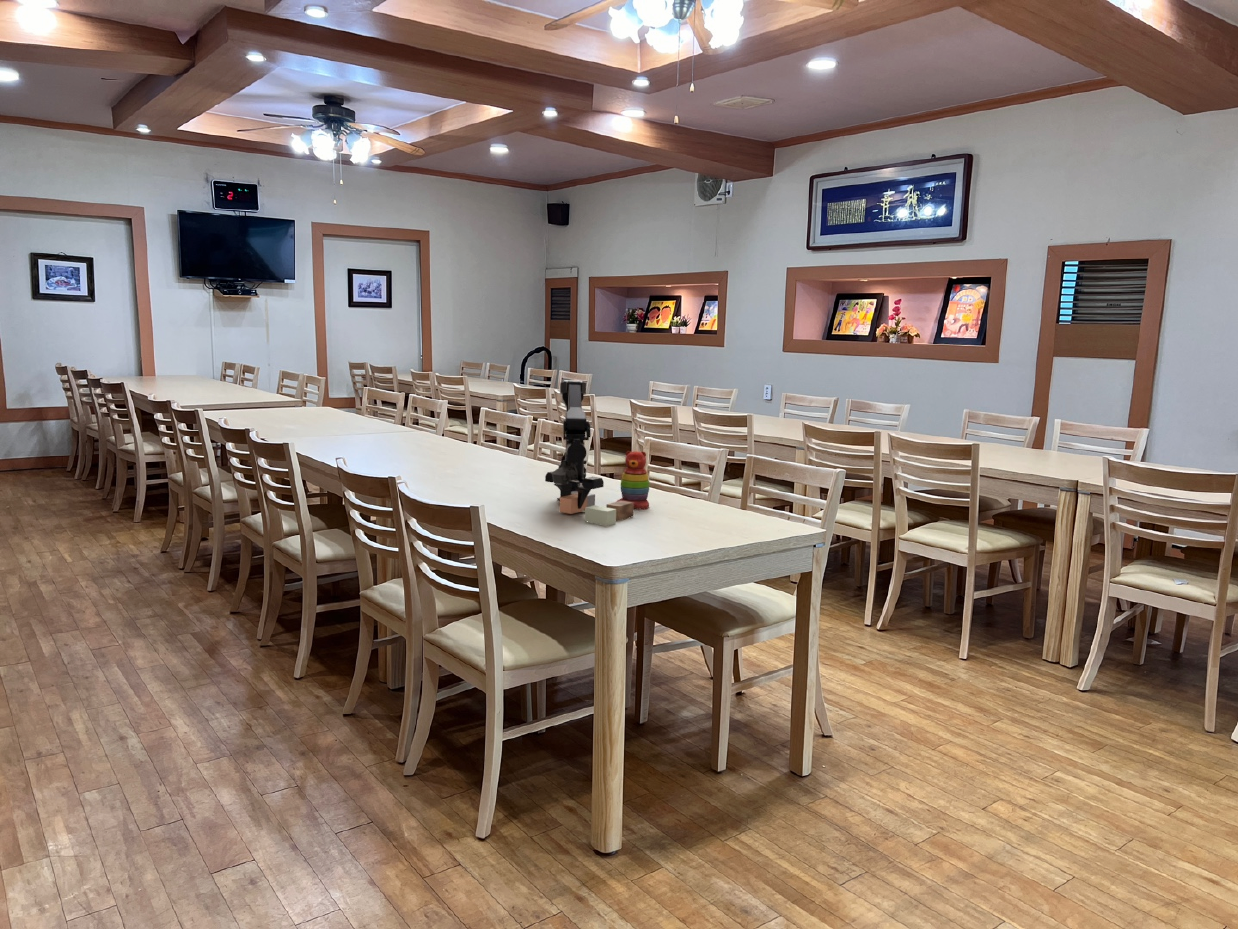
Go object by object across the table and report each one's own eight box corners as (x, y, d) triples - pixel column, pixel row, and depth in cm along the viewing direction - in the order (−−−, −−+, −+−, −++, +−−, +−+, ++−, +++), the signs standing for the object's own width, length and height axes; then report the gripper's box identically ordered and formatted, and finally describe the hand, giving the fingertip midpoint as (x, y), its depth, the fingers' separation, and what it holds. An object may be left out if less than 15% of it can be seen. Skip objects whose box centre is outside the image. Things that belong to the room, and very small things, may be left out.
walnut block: (621, 514, 270) (621, 500, 269) (633, 517, 267) (633, 502, 267) (606, 518, 263) (606, 504, 263) (618, 521, 261) (618, 506, 260)
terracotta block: (575, 507, 274) (575, 493, 273) (586, 510, 271) (587, 495, 270) (559, 511, 267) (559, 497, 266) (570, 513, 265) (571, 499, 264)
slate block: (566, 506, 279) (566, 492, 279) (574, 504, 283) (575, 490, 282) (586, 510, 275) (586, 496, 274) (594, 508, 278) (595, 494, 278)
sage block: (584, 522, 258) (585, 507, 257) (593, 520, 261) (594, 505, 261) (606, 526, 253) (607, 511, 252) (615, 524, 257) (616, 509, 256)
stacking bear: (613, 506, 281) (615, 451, 278) (622, 501, 290) (624, 448, 288) (645, 510, 278) (648, 454, 275) (653, 504, 287) (656, 450, 284)
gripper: (534, 456, 265) (532, 506, 268) (583, 463, 255) (581, 516, 257) (557, 452, 274) (556, 501, 277) (605, 459, 264) (603, 510, 266)
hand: (573, 507), depth 269 cm, fingers closed on terracotta block, 4 cm apart
